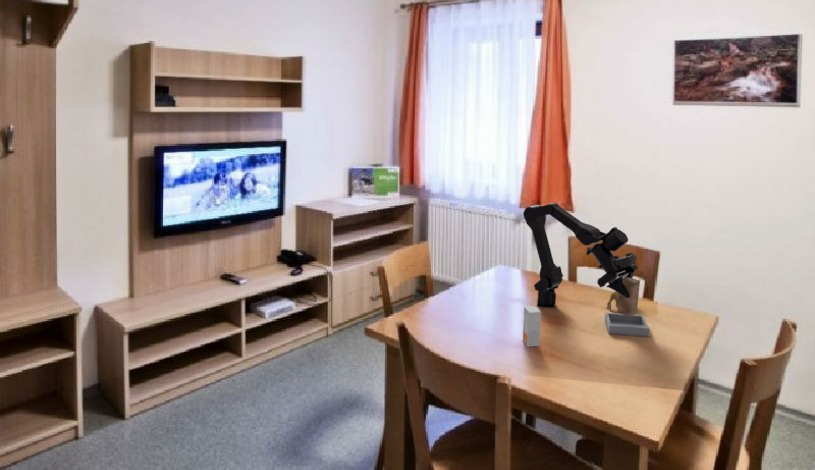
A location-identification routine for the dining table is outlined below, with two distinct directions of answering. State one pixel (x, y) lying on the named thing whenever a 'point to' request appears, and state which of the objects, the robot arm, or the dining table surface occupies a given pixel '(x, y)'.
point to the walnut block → (629, 304)
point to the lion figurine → (613, 296)
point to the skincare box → (531, 326)
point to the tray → (626, 325)
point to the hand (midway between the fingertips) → (632, 295)
